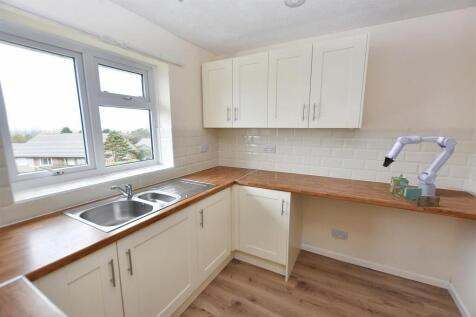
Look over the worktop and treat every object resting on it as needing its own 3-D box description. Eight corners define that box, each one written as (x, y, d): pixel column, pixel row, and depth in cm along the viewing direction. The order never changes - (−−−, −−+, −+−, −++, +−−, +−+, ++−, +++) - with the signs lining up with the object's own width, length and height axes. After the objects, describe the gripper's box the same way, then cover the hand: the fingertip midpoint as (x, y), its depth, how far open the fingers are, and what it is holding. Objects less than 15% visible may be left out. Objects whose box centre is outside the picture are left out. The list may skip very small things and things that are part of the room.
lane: (413, 195, 150) (414, 188, 149) (438, 206, 131) (440, 197, 130) (394, 195, 150) (395, 188, 149) (416, 206, 131) (418, 197, 130)
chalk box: (389, 190, 162) (391, 172, 160) (403, 192, 158) (406, 173, 156) (391, 194, 154) (394, 175, 151) (406, 196, 150) (409, 176, 147)
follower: (418, 198, 144) (420, 187, 143) (420, 199, 142) (422, 188, 141) (403, 198, 144) (404, 187, 143) (405, 199, 142) (406, 188, 141)
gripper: (390, 149, 162) (380, 164, 166) (388, 147, 151) (377, 163, 155) (400, 153, 158) (389, 168, 162) (399, 152, 147) (387, 168, 151)
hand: (384, 166), depth 158 cm, fingers open, 7 cm apart
